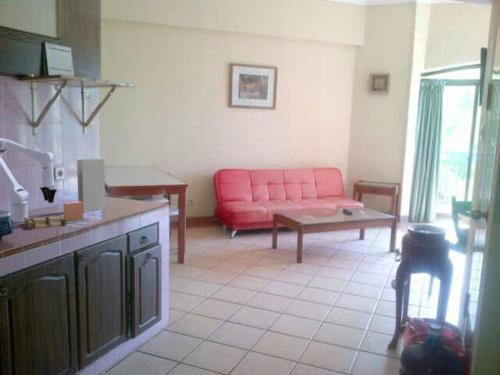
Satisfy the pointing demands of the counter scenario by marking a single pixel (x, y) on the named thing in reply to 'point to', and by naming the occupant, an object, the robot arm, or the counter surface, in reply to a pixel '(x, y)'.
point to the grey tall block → (91, 184)
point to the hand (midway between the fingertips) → (48, 201)
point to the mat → (77, 220)
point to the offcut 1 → (39, 223)
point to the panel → (73, 211)
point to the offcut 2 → (54, 221)
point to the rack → (31, 223)
